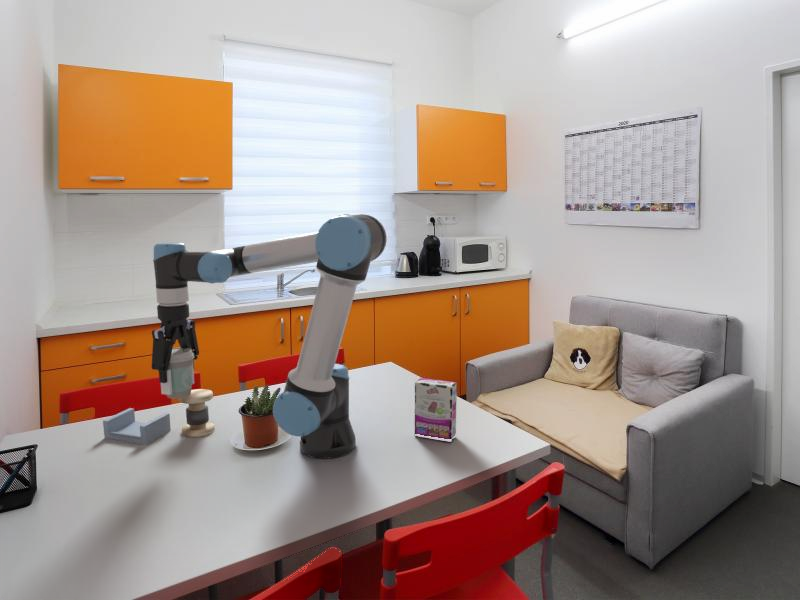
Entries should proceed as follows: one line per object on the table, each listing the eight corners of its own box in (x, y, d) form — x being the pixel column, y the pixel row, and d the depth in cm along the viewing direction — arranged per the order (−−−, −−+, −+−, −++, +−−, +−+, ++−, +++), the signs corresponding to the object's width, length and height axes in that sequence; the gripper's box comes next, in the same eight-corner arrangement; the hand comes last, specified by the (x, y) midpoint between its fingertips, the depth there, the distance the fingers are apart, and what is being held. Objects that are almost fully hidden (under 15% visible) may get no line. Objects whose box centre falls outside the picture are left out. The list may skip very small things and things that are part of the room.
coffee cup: (184, 402, 139) (181, 356, 136) (154, 399, 140) (151, 354, 138) (202, 390, 147) (200, 347, 145) (174, 388, 148) (171, 345, 146)
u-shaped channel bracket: (131, 424, 162) (129, 408, 161) (170, 430, 158) (169, 413, 158) (104, 438, 153) (102, 420, 152) (145, 444, 149) (144, 426, 148)
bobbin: (221, 427, 161) (219, 390, 159) (201, 439, 153) (199, 401, 151) (195, 423, 164) (192, 387, 162) (174, 435, 155) (172, 397, 153)
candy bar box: (456, 436, 156) (457, 381, 153) (451, 443, 151) (452, 387, 148) (419, 430, 160) (420, 376, 157) (413, 437, 155) (414, 382, 152)
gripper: (187, 296, 150) (192, 375, 154) (130, 309, 130) (137, 400, 134) (210, 297, 148) (214, 378, 152) (156, 311, 128) (162, 403, 132)
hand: (178, 388), depth 143 cm, fingers closed on coffee cup, 8 cm apart
